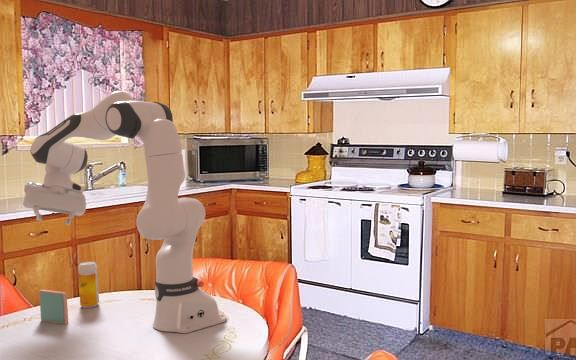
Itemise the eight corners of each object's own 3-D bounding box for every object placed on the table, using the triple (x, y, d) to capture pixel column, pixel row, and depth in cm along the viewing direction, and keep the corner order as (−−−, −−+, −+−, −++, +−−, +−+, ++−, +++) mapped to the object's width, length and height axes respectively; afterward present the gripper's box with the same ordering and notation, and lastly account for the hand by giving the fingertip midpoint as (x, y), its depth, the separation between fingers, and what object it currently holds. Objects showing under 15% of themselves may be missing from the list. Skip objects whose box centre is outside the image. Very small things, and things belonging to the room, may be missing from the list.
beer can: (80, 304, 190) (78, 262, 188) (99, 302, 192) (97, 260, 190) (79, 309, 184) (77, 266, 183) (98, 307, 186) (96, 264, 184)
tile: (44, 319, 175) (42, 289, 174) (68, 323, 172) (66, 292, 171) (40, 320, 174) (38, 290, 173) (65, 324, 171) (63, 293, 170)
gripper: (27, 177, 185) (23, 213, 178) (88, 188, 196) (86, 222, 189) (23, 185, 189) (18, 221, 182) (82, 196, 200) (80, 230, 194)
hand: (53, 222), depth 186 cm, fingers open, 8 cm apart
